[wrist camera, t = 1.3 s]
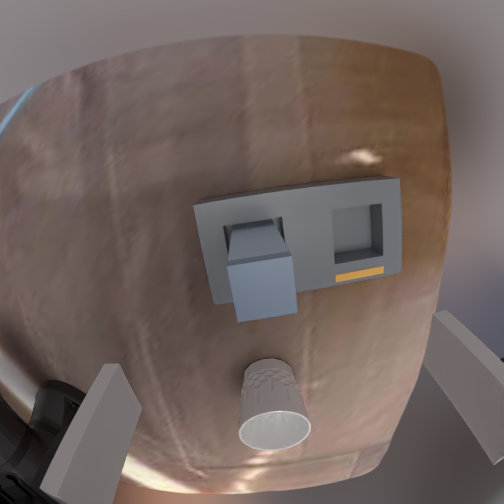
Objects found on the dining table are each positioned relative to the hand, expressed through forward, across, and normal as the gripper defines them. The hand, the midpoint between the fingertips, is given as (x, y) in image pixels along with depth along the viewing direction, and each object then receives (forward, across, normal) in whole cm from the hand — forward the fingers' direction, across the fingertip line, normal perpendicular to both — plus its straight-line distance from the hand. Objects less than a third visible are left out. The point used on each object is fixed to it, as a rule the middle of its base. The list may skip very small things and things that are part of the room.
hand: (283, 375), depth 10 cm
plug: (+20, 0, 0) cm, 20 cm away
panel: (+21, +5, 0) cm, 22 cm away
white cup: (+21, -1, -19) cm, 29 cm away
